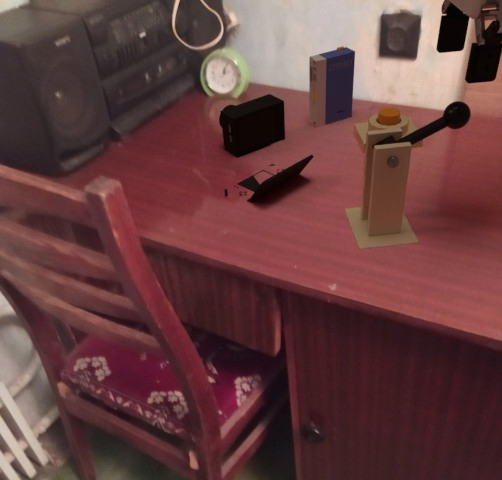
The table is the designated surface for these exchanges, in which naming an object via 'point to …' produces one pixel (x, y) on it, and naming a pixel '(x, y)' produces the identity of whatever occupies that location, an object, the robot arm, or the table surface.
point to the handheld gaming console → (272, 179)
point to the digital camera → (252, 124)
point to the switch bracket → (383, 194)
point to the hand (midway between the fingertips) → (463, 65)
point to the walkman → (331, 86)
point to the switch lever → (436, 124)
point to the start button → (389, 116)
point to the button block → (373, 124)
